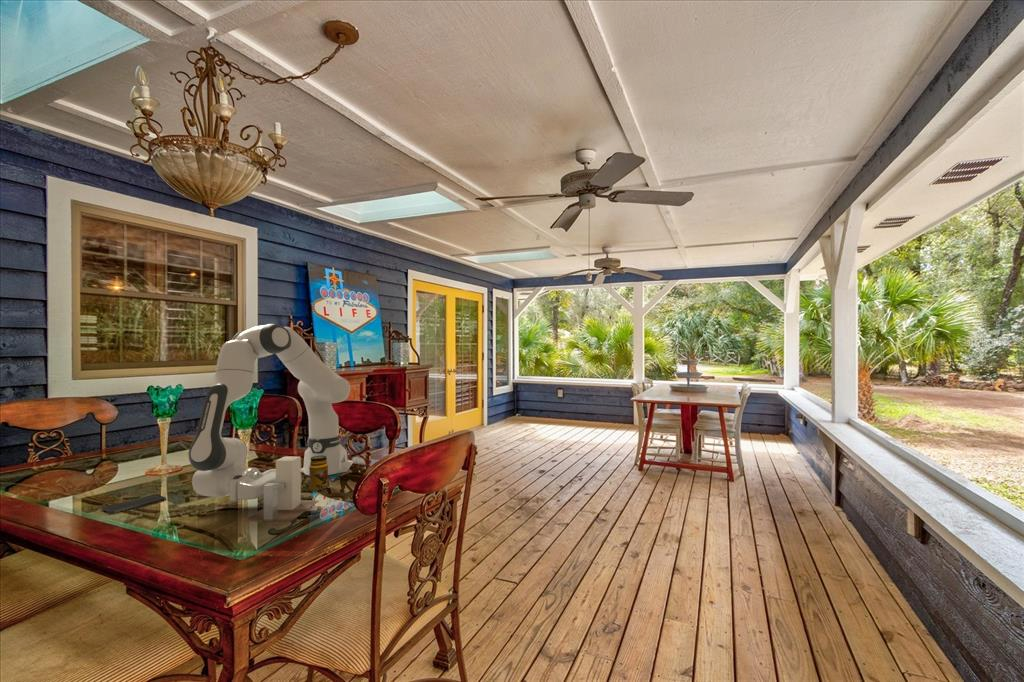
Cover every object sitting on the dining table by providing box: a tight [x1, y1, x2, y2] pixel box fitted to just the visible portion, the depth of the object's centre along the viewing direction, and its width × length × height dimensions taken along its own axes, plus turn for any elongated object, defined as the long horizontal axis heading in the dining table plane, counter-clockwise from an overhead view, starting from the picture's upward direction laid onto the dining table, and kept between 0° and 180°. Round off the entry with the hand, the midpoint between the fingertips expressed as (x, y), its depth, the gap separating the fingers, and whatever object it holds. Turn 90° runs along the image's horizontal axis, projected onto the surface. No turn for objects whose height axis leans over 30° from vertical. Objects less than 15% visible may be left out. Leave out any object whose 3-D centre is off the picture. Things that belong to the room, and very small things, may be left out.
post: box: [263, 483, 277, 521], centre depth 136 cm, size 3×3×10 cm
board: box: [243, 499, 319, 523], centre depth 143 cm, size 18×14×1 cm
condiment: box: [308, 455, 329, 492], centre depth 165 cm, size 7×8×12 cm
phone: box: [101, 494, 167, 514], centre depth 151 cm, size 8×1×15 cm
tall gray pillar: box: [275, 455, 302, 510], centre depth 146 cm, size 5×5×15 cm
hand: (291, 482), depth 146 cm, fingers open, 7 cm apart
